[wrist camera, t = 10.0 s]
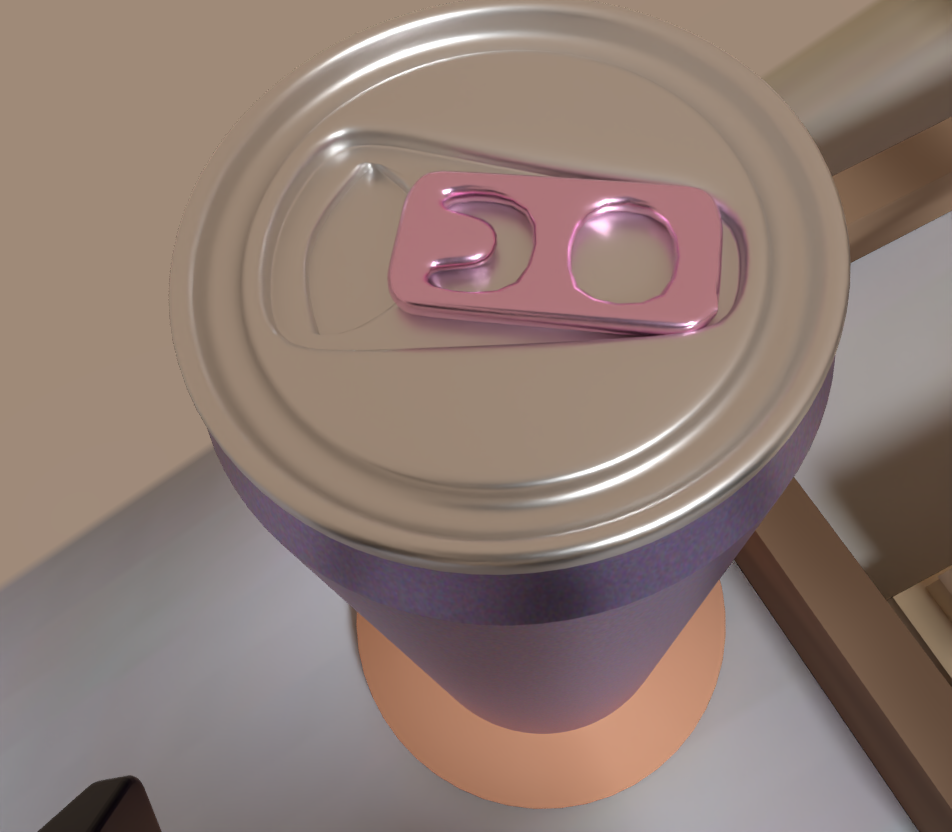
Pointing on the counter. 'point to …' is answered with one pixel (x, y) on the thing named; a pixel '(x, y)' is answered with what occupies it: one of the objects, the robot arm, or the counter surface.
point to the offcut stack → (930, 617)
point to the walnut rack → (834, 567)
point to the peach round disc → (558, 754)
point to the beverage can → (515, 334)
